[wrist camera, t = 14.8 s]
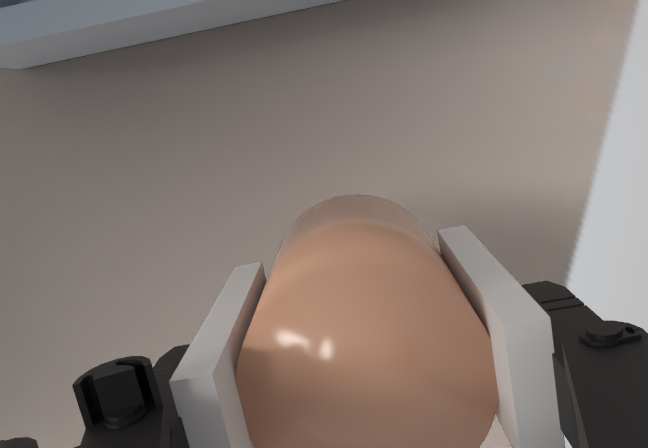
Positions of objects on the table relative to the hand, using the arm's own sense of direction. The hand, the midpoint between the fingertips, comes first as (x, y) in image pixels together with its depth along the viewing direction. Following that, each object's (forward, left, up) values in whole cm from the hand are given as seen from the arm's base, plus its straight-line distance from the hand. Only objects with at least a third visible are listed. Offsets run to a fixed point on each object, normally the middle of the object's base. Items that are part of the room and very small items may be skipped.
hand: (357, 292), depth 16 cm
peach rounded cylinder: (0, 0, -2) cm, 2 cm away
